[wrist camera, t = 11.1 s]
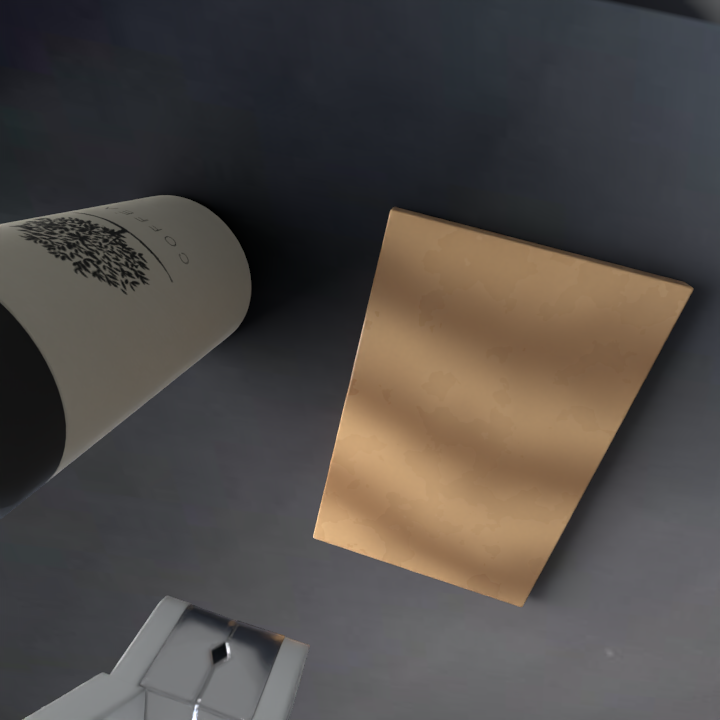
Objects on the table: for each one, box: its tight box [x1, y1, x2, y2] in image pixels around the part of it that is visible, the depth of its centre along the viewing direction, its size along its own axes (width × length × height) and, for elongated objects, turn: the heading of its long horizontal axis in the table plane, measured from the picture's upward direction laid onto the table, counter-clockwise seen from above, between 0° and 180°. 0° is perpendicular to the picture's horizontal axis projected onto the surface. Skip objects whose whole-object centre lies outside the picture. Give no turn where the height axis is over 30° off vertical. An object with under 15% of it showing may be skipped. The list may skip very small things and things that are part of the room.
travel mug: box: [0, 195, 251, 519], centre depth 18 cm, size 8×8×18 cm
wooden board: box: [313, 207, 693, 607], centre depth 26 cm, size 20×13×1 cm, turn 168°
